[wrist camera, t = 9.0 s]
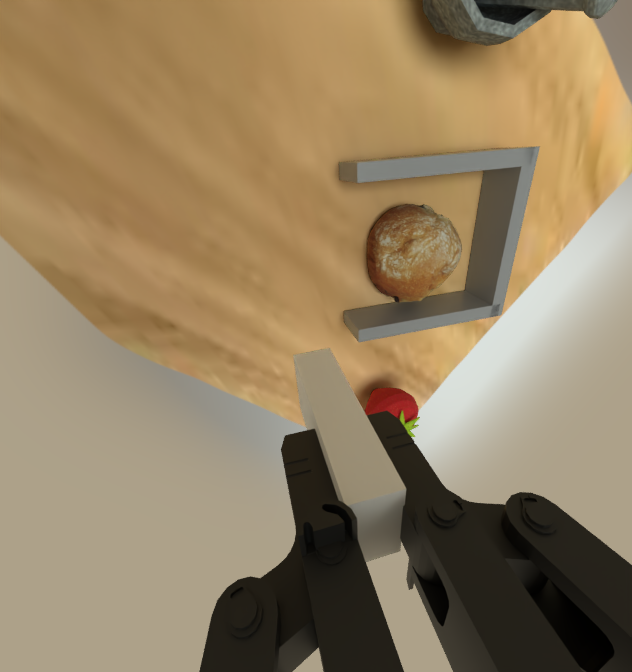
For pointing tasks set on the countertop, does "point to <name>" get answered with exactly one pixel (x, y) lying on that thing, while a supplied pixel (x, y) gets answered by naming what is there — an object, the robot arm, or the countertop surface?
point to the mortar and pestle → (500, 16)
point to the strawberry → (394, 406)
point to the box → (487, 247)
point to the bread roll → (412, 252)
